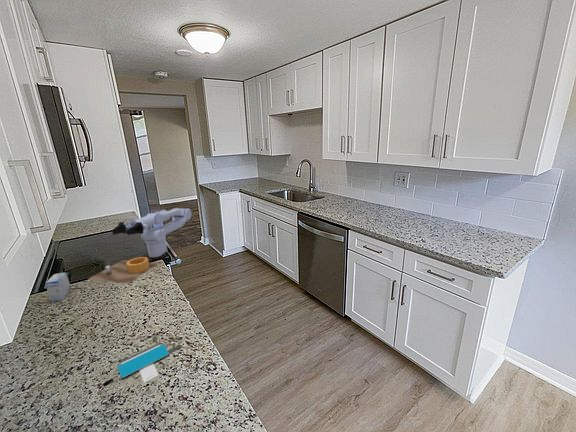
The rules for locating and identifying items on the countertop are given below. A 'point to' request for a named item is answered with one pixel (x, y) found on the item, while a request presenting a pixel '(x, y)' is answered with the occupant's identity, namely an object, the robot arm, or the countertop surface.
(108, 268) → the hook post
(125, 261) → the walnut board
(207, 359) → the countertop surface
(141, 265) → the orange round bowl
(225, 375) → the countertop surface
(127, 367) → the blue panel with block
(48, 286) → the medicine box
